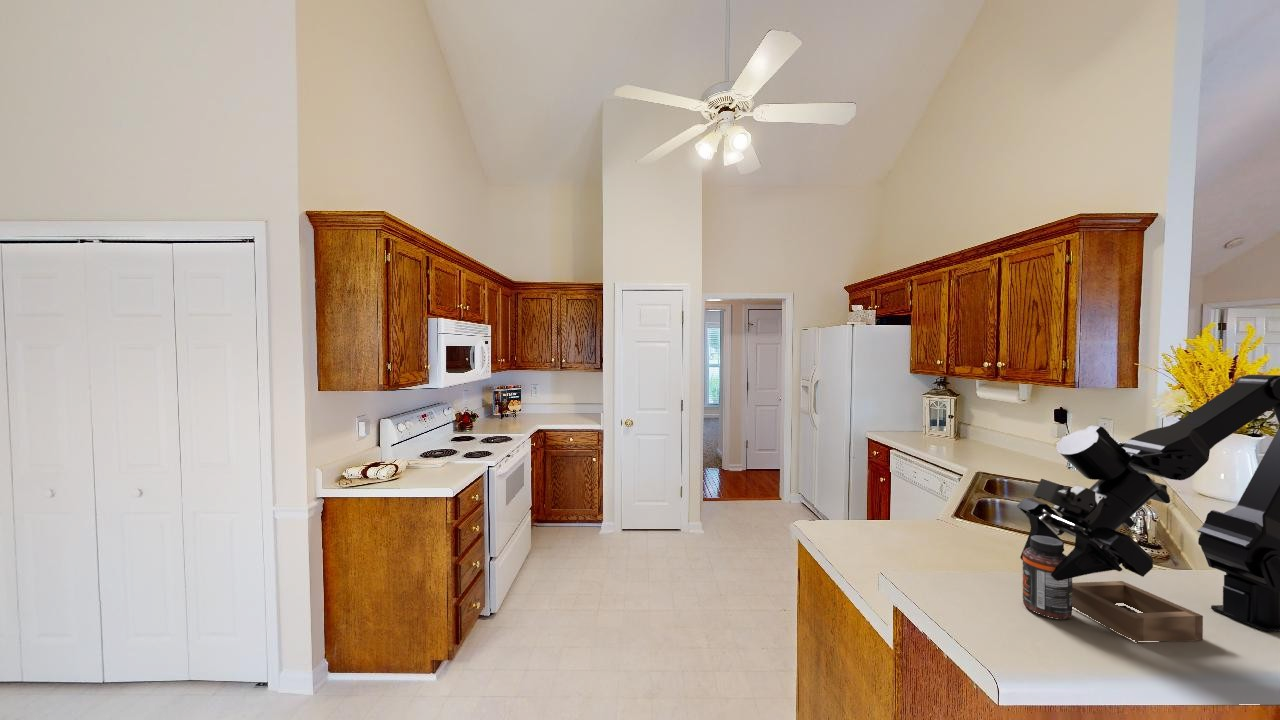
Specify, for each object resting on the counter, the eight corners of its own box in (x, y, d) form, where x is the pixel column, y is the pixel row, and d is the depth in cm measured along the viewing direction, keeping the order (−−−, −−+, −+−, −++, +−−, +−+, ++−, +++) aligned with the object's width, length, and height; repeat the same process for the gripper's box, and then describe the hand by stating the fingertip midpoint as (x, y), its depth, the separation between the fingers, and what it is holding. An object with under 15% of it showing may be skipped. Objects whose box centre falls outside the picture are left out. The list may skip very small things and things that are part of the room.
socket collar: (1122, 602, 77) (1122, 581, 77) (1202, 640, 67) (1202, 615, 67) (1063, 604, 76) (1063, 583, 76) (1135, 643, 66) (1135, 618, 66)
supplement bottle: (1018, 597, 78) (1018, 530, 78) (1065, 606, 76) (1065, 536, 76) (1027, 614, 73) (1027, 542, 73) (1078, 625, 70) (1078, 549, 70)
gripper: (1028, 452, 83) (963, 513, 84) (1131, 478, 65) (1047, 557, 65) (1074, 497, 83) (1009, 558, 84) (1192, 537, 64) (1107, 615, 65)
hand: (1037, 569), depth 74 cm, fingers closed on supplement bottle, 6 cm apart
